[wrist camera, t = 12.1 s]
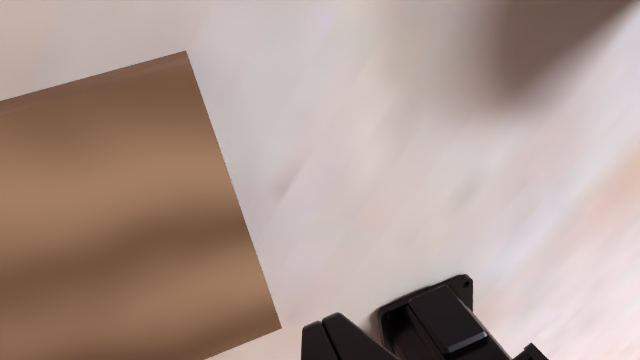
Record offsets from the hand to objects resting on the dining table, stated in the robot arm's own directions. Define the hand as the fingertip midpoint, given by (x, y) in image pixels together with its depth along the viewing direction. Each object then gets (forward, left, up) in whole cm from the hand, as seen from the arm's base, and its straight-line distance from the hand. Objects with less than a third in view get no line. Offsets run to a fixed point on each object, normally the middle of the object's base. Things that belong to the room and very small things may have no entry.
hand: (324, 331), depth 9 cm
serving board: (-3, +7, -12) cm, 14 cm away
